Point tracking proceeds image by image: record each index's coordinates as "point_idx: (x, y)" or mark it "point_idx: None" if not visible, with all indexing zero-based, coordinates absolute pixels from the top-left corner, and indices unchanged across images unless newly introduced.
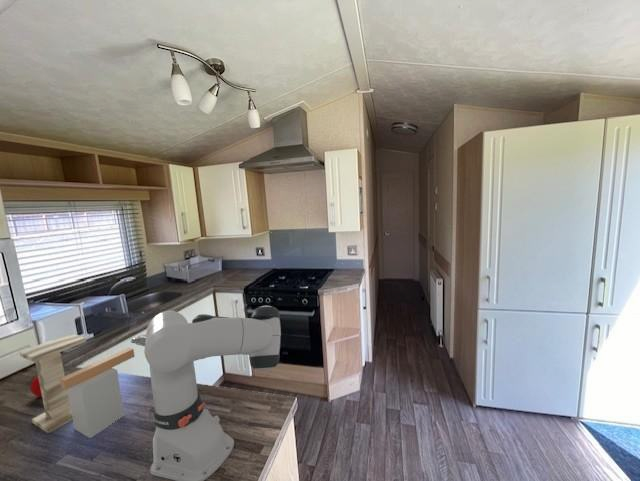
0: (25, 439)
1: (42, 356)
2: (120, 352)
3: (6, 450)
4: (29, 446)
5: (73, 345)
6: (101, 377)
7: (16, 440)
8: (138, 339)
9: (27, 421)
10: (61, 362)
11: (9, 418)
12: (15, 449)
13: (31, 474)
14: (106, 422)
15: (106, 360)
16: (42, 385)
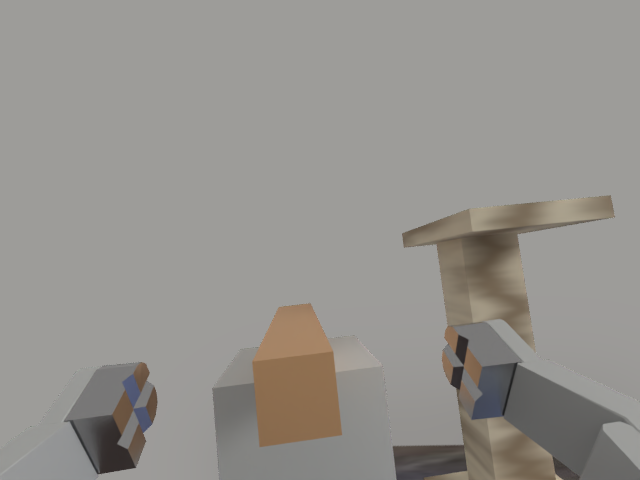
0: (446, 464)
1: (410, 239)
2: (304, 338)
3: (429, 446)
4: (399, 468)
5: (446, 232)
6: (230, 366)
7: (461, 455)
8: (560, 404)
9: (563, 469)
10: (468, 294)
11: None
12: (416, 454)
13: None
14: None
15: (281, 324)
16: None
